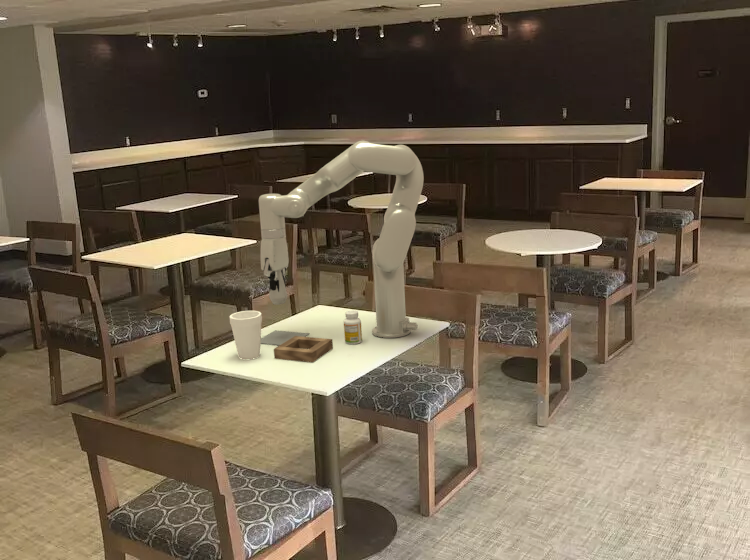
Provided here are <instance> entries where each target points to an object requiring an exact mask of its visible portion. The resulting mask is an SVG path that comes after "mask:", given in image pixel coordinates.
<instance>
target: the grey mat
mask: <svg viewBox="0 0 750 560" xmlns="http://www.w3.org/2000/svg"><path fill="white" fill-rule="evenodd" d="M309 335H310V333H309V332H298V331H289V330H288V331H287V330H278V329H277V330H273V331H272V332H270V333H268V334H266V335H265V336H263V337H261V344H260V345H265V346H266V345H268V346H276V347H278V346H279V345H281V344H283V343H284V342H286V341H288V340H289V339H291V338H293V337H294V336H301V337H309Z"/></svg>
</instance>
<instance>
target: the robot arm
mask: <svg viewBox="0 0 750 560" xmlns="http://www.w3.org/2000/svg"><path fill="white" fill-rule="evenodd" d="M364 172H367V173H375V174H383V175H393V176H395V177H396V178H395V184H394V187H393V191H392V195H391V197H390V200H389V203H388V206H387V208H386V210H385V213H384V216H383V225H382V228H381V231H380V234H379V238H377V239H376V240H375V241H374V243H373V245H372V249H371V251H372V252H371V253H372V265H373V266H372V267H373V278H374V279H373V280H374V301H375V302H374V303H375V318H376V319H375V321H376V322H375V324H376V326H373V328H372V329H371V333H372V335H373V336H375V337H377V336H378V337H379V338H382V337H383V338H384V339H394V338H395V339H396V338H401V337H404V336H405V337H406V336H408V335H409V334H410V333H411V332H412V331H417V330H419V329H418V328H419V324H418V323H417V322H414V321H413V322H412V321H411V322H410V319H409V318H410V317H406V316H407V315H406V313H407V311H406V297H405V296H406V295H405V294H406V292H405V291H406V290H405V268H404V262H405V260H406V257H407V255H408V251H409V248H410V247H411V242H412V239H413V237H414V234H415V230H416V226H417V225H416V224H417V220H416V212H417V209H418V205H419V202H420V197H421V194H422V192H423V191H422V190H423V187H424V180H425V179H424V170H423V166H422V164H421V161H420V160H419V158H418V156H417V155H416V154H415V152H414V151H413V150H412V148H410V147H409V146H407V145H404V144H397V145H388V144H379V143H372V142H370V141H368V140H364V139H363V140H358V141H356V142H355V143H354V144H352V145H351V146H349V147H348V148H346V149H345V150H344V151H343V152H341V153H340V154H339V155H337V156H336V157H335V158H333V159H332V160H331V161H329V162H328V163H326V164H325V165H324V166H323V167H321V168H319V170H318V171H316V172H315V173H314V174H313V175H312V176H310V177H309V178H308V179H306V180H305V181H304V182H302V183H301V184H299V185H298V186H297V187H295V188H294V189H292V190H291V191H290V192H289V193H288V194H284V195H282V194H280V193H265V194H261V195H260V196H259V198H258V209H259V220H260V233H261V240H260V269H261V271H263V275H264V276H266V277H267V280H268V282H269V292H270V291H271V290H273V291H274V290H276V285H277V289H278V292H279V280H277V279H278V278H277V270H279V269H281V268H283V269H282V270H281V272H282V276H283V280H284V284H285V287H286V271H287V268H288V267H289V262H290V260H289V249H288V242H287V234H286V233H287V232H286V221H285V218H289V219H290V218H291V219H298V218H301V217H303V216H304V215H305V214H306V212H307V211H308V209H309V208H311V206H314V205H315V204H316V203H318V201H320V200H321V199H322V198H323V199H324V197H326V196H328V195H329V194H331V193H335V192H337V191H339V190H340V189H342V188H344V187H345V186H346V185H347V184H349V183H350V182H351V181H353V180H354V179H356V177H357V178H358V176H360V175H361V174H363V173H364ZM270 268H271V269H272V270H270ZM271 272H273V273H274V274H273V273H271Z"/></svg>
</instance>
